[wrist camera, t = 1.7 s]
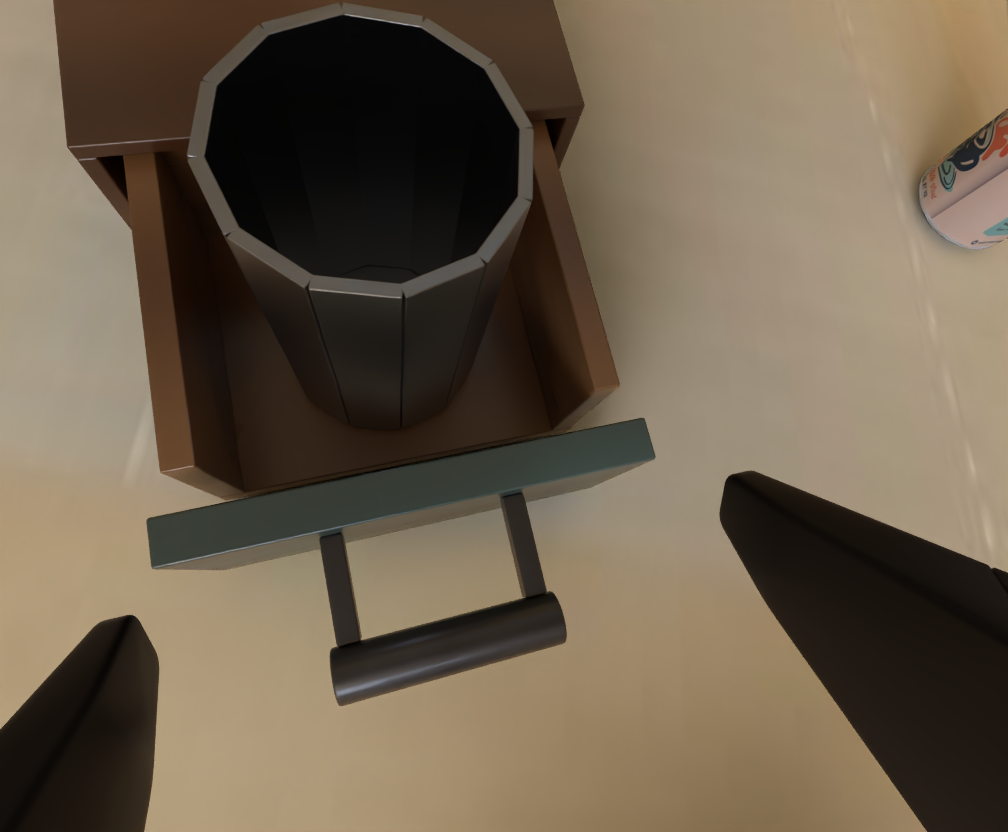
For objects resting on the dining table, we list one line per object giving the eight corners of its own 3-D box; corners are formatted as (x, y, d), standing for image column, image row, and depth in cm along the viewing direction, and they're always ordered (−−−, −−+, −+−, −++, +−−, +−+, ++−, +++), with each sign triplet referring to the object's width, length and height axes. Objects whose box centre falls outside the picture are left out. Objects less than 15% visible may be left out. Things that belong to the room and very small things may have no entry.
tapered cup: (407, 465, 21) (417, 361, 10) (252, 365, 21) (111, 163, 10) (502, 325, 22) (589, 122, 12) (360, 233, 22) (330, -47, 12)
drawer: (621, 603, 22) (702, 614, 16) (240, 707, 19) (172, 765, 13) (513, 196, 25) (548, 84, 19) (177, 233, 22) (100, 116, 16)
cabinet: (532, 237, 25) (585, 105, 18) (171, 283, 22) (66, 147, 15) (465, -15, 28) (488, -215, 21) (134, -4, 25) (29, -233, 18)
